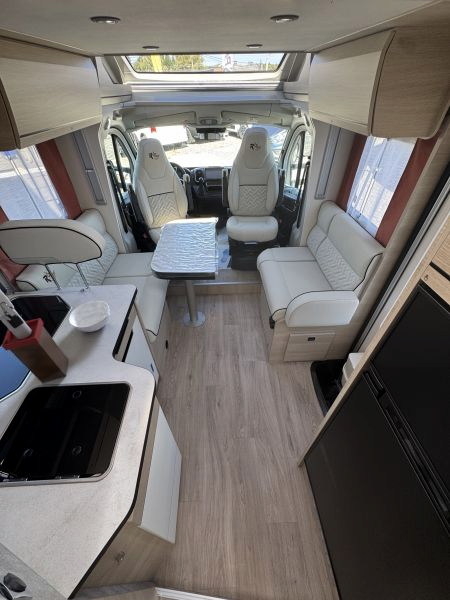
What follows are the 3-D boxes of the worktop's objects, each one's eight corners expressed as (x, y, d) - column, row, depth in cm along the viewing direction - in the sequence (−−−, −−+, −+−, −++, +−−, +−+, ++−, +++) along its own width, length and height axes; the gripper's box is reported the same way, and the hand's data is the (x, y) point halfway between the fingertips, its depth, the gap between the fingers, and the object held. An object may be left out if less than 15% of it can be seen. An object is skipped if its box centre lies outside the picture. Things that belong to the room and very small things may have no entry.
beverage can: (35, 331, 93) (16, 307, 85) (25, 341, 89) (4, 317, 81) (24, 329, 94) (5, 305, 86) (14, 338, 90) (-8, 315, 82)
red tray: (6, 350, 87) (1, 346, 86) (13, 329, 94) (9, 325, 93) (38, 342, 90) (35, 337, 88) (43, 322, 97) (40, 318, 95)
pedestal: (42, 383, 103) (8, 349, 88) (45, 365, 110) (14, 330, 94) (66, 376, 105) (37, 341, 90) (68, 359, 112) (41, 324, 96)
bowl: (72, 319, 130) (66, 309, 125) (108, 306, 137) (104, 296, 132) (78, 343, 118) (72, 333, 113) (118, 327, 125) (113, 316, 120)
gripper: (-50, 279, 76) (-11, 321, 88) (-21, 297, 69) (17, 339, 82) (-22, 267, 81) (11, 308, 93) (7, 282, 74) (39, 324, 86)
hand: (14, 322), depth 87 cm, fingers closed on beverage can, 4 cm apart
